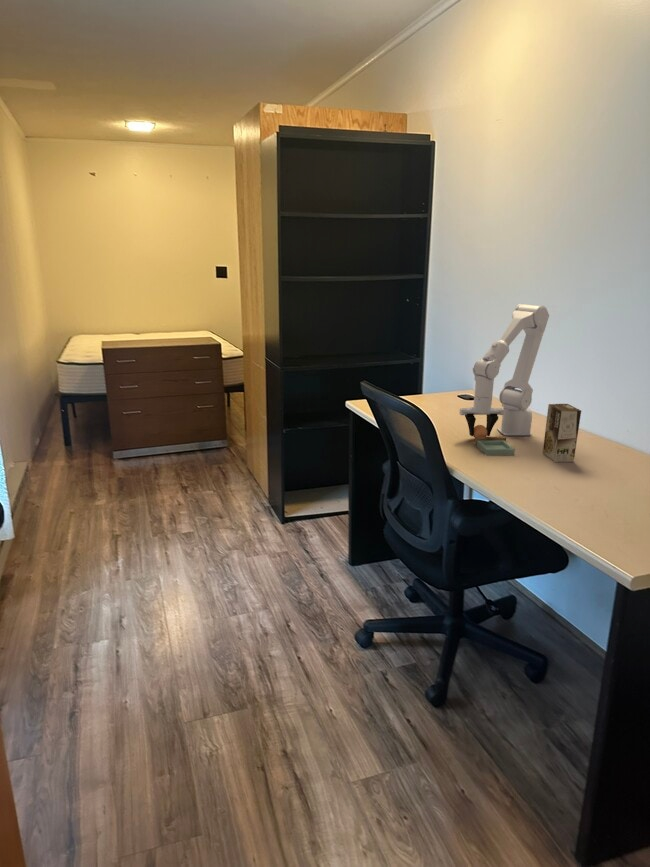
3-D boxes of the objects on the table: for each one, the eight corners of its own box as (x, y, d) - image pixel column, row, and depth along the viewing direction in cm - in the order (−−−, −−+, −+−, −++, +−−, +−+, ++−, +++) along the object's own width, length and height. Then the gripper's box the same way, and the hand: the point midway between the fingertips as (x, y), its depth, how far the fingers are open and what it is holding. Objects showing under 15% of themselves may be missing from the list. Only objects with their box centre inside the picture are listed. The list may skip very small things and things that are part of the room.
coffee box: (574, 462, 179) (582, 410, 175) (554, 462, 179) (561, 410, 174) (561, 452, 188) (568, 403, 183) (541, 452, 188) (548, 403, 183)
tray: (503, 445, 194) (504, 440, 193) (514, 454, 185) (514, 449, 184) (476, 445, 193) (477, 440, 192) (485, 454, 184) (486, 449, 184)
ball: (483, 437, 202) (485, 423, 201) (488, 441, 198) (490, 427, 196) (469, 437, 202) (470, 423, 201) (474, 441, 197) (475, 427, 196)
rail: (504, 443, 196) (505, 436, 195) (505, 444, 194) (506, 437, 194) (474, 443, 195) (475, 436, 194) (476, 445, 194) (476, 437, 193)
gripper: (500, 393, 200) (496, 431, 204) (458, 393, 199) (455, 432, 203) (508, 398, 193) (503, 437, 197) (464, 398, 192) (460, 438, 196)
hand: (479, 435), depth 199 cm, fingers closed on ball, 5 cm apart
